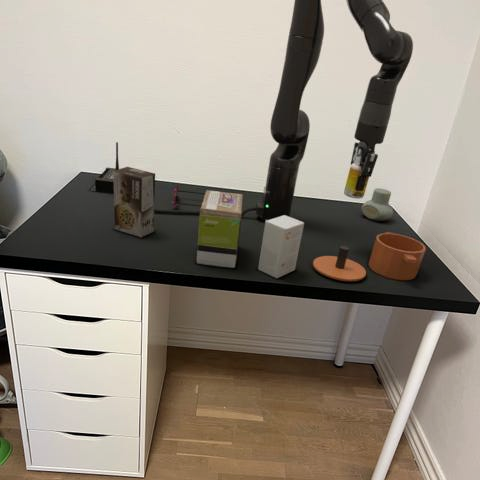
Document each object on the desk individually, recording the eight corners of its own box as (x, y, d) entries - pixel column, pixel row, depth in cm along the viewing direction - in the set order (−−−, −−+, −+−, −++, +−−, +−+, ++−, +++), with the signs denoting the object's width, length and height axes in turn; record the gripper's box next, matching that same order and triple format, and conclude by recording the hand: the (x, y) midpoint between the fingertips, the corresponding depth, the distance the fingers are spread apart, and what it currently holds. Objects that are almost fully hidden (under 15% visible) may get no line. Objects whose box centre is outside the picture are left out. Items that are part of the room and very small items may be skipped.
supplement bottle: (353, 199, 127) (363, 161, 122) (339, 193, 131) (348, 155, 125) (367, 198, 130) (378, 160, 125) (353, 192, 134) (363, 155, 128)
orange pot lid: (317, 280, 118) (323, 256, 115) (308, 257, 130) (313, 234, 127) (371, 285, 120) (379, 261, 116) (356, 262, 132) (363, 239, 128)
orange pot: (379, 282, 122) (388, 254, 118) (360, 253, 138) (367, 227, 133) (427, 287, 123) (437, 259, 119) (402, 257, 139) (411, 232, 135)
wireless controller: (102, 177, 168) (100, 126, 159) (141, 182, 169) (142, 132, 160) (86, 194, 151) (84, 138, 142) (130, 199, 152) (131, 144, 143)
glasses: (173, 197, 159) (174, 182, 157) (222, 202, 161) (223, 188, 159) (171, 211, 148) (171, 195, 145) (223, 216, 150) (225, 201, 147)
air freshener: (355, 214, 169) (363, 187, 164) (369, 211, 174) (376, 185, 169) (381, 225, 163) (389, 196, 157) (394, 222, 168) (402, 194, 162)
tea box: (201, 241, 130) (206, 188, 122) (237, 246, 130) (244, 193, 123) (195, 264, 117) (200, 206, 109) (235, 269, 118) (243, 212, 110)
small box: (275, 261, 125) (284, 214, 118) (295, 270, 122) (305, 222, 115) (256, 269, 119) (264, 220, 112) (276, 279, 116) (286, 228, 109)
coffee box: (154, 231, 132) (156, 173, 123) (141, 238, 127) (142, 178, 118) (127, 223, 134) (127, 165, 126) (113, 229, 129) (112, 169, 121)
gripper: (351, 114, 126) (336, 178, 135) (366, 124, 114) (349, 193, 123) (378, 118, 127) (361, 181, 136) (396, 128, 115) (376, 196, 123)
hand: (355, 186), depth 129 cm, fingers closed on supplement bottle, 5 cm apart
